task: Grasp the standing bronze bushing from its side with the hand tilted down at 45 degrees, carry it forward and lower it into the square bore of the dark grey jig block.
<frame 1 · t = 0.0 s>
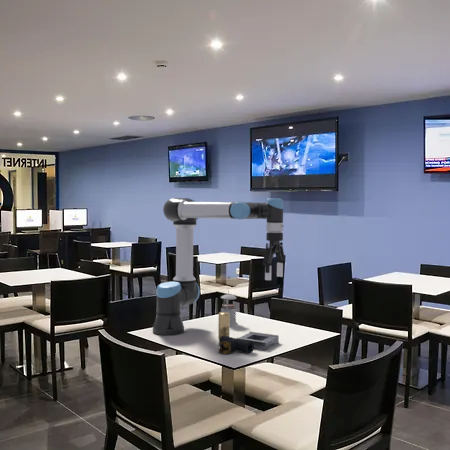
hand: (274, 278, 235), 28 cm above the table, tool pointing down, fingers open, 13 cm apart
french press: (227, 323, 267), on the table
jig: (257, 344, 226), on the table
pipe connector: (231, 352, 214), on the table
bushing: (223, 339, 234), on the table
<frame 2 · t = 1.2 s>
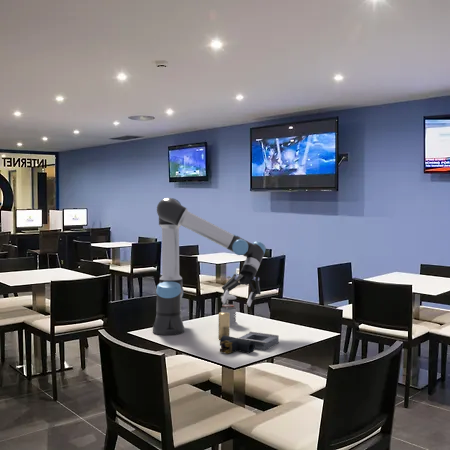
hand: (235, 303, 242), 15 cm above the table, tool tilted 45°, fingers open, 13 cm apart
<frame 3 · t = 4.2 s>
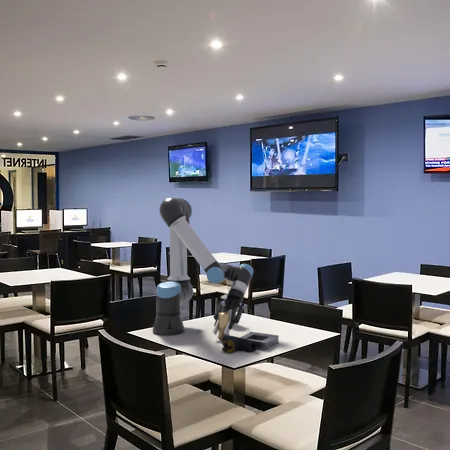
hand: (220, 333, 230), 3 cm above the table, tool tilted 45°, fingers closed on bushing, 5 cm apart
pipe connector: (234, 351, 216), on the table
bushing: (223, 339, 234), on the table, touching gripper
everything else where it was.
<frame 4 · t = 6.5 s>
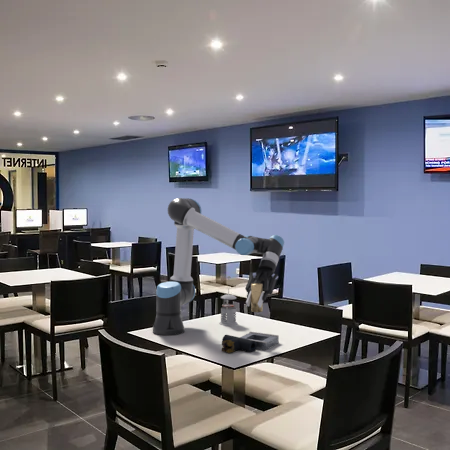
hand: (253, 305, 222), 18 cm above the table, tool tilted 45°, fingers closed on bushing, 5 cm apart
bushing: (256, 311, 226), point 15 cm above the table, touching gripper
everything else where it was.
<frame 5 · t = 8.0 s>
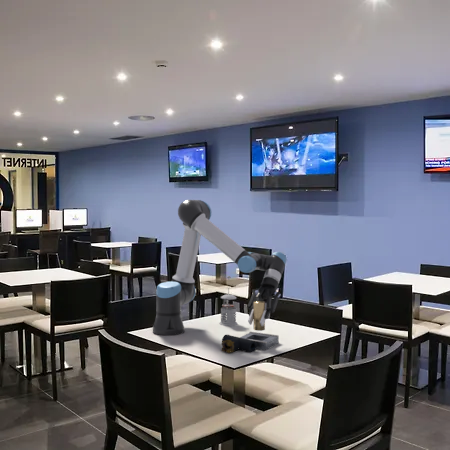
hand: (255, 323, 222), 10 cm above the table, tool tilted 45°, fingers closed on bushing, 5 cm apart
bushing: (259, 329, 225), point 7 cm above the table, touching gripper
everything else where it was.
when the fingers open (5 cm above the table, at t = 9.2 s): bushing drops 2 cm, resting in jig.
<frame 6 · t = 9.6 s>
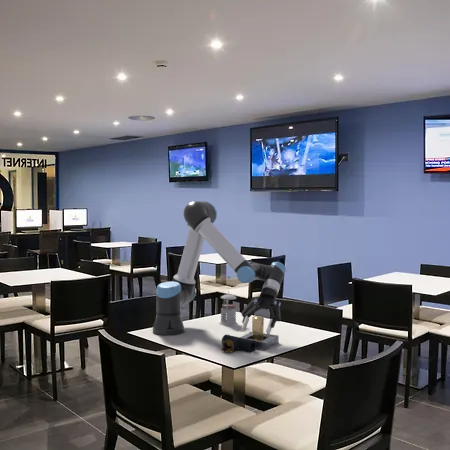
hand: (255, 331, 223), 6 cm above the table, tool tilted 45°, fingers open, 11 cm apart
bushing: (257, 344, 226), resting in jig
everything else where it was.
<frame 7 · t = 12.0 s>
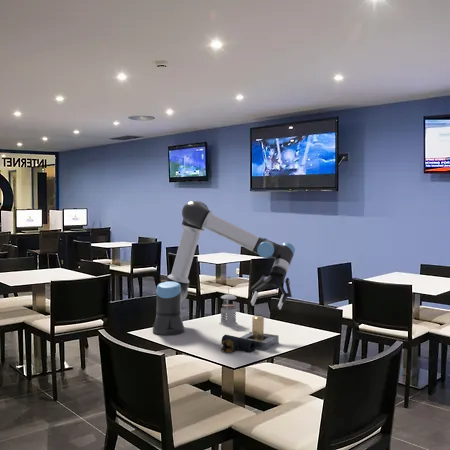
hand: (265, 305, 235), 15 cm above the table, tool tilted 45°, fingers open, 13 cm apart
nothing on the table moved.
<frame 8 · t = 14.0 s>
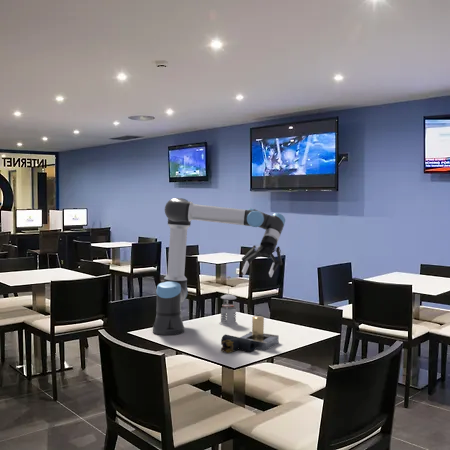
hand: (256, 274, 235), 30 cm above the table, tool tilted 45°, fingers open, 13 cm apart
nothing on the table moved.
at the end: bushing 0.1 cm off-centre on the jig, point 0.0 cm above the jig's base; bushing tilted 0°; the gripper is holding nothing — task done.
